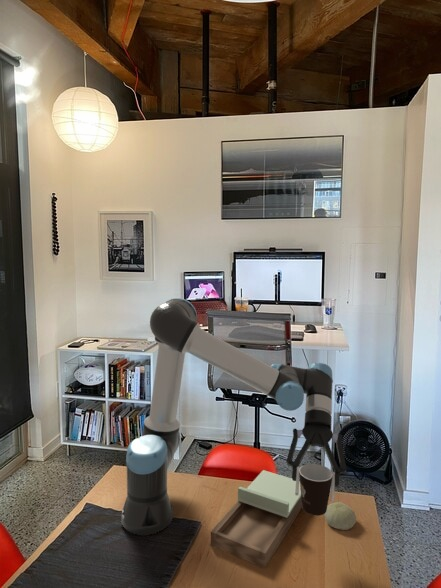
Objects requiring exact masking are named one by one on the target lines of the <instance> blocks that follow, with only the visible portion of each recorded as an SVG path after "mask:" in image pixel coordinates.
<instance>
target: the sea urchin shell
mask: <svg viewBox="0 0 441 588" xmlns="http://www.w3.org/2000/svg"><path fill="white" fill-rule="evenodd" d="M323 515H324V519H325V521H326V522H327V525H329V526H330V527H331V528H335V529H338V530H343V531H346V530H350V529H352V528H353V527H354V526H355V524H356V521H357V516H356V513H355V511H354V510H353V509H352V508H351V507H350V506H348V505H347V504H346V503H343V502H341V501H335V502H331V503H328V506H327V511H326V513H325V514H323Z"/></svg>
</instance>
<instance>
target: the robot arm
mask: <svg viewBox="0 0 441 588" xmlns="http://www.w3.org/2000/svg"><path fill="white" fill-rule="evenodd" d="M197 320H198V315H197V310H196V307H195V306H194V305H193V304H192V303H191V302H190V301H189V300H187V299H185V298H170V299H168V300H167V301H165V302H164V303H162V304H159V305H158V306H157V307H156V308H155V309H154V310H153V312H151V314H150V318H149V327H150V330H151V333H152V334H153V336H154V341H155V342H156V343H157V345H158V350H157V357H156V364H155V371H154V372H155V373H154V380H153V388H152V393H151V395H152V396H151V404H150V409H149V415H148V416H147V417H145V419H144V420H143V426H142V433H141V436H139V437H138V438H137V437H135V439H133V440H131V442H130V443H129V444H128V446H127V449H126V456H125V457H126V458H125V462H126V488H127V489H126V494H127V495H126V498H125V501H124V504H123V508H122V511H121V516H120V517H121V526H122V525H123V526H122V528H123V527H124V528H125V529H126V530H128V531H129V532H130V534H132V533H133V535H135V534H137V535H136V536H150V534H152V535H155V534H157V533H156V532H158V533H160V532H159V531H161V530H162V529H164V528H166V527H167V526H168V525H169V524H170V523H172V522H173V520H172V519H174V508H173V505H172V503H171V501H170V497H169V493H168V469H169V467H170V464H171V462H172V460H173V458H174V456H175V453H176V452H177V450H178V448H179V445H180V442H181V441H180V440H181V438H180V437H181V435H180V434H181V433H180V425H181V423H180V421H179V420H178V418H177V414H178V406H179V400H180V393H181V384H182V379H183V370H184V362H185V357H186V353H188V354H190V355H192V356H193V357H196V358H198V359H200V360H202V361H203V362H205V363H207V364H209V365H211V366H213V367H215V368H216V369H218V370H220V371H222V372H223V373H225V374H228V375H229V376H231V377H233V378H235V379H236V380H239V381H241V382H242V383H244V384H246V385H248V386H249V387H250V388H254V390H257V391H259V392H260V393H262V394H264V395H266V396H267V397H270V398H272V399H274V401H276V404H278V406H279V407H280V408H281V409H282V410H284V411H287V412H289V411H296V410H298V409H299V408H300V407H301V406H302V405H303V403H304V400H305V409H304V411H305V413H304V425H303V428H302V429H297V428H293V429H292V434H293V435H292V436H293V437H292V441H291V444H290V447H289V451H288V454H287V457H286V465H287V466H288V467H291V468H292V472H291V478H292V480H293V481H296V489H295V495H297V496H298V493H299V481H300V476H299V469H300V467H301V466H300V464H301V462H302V461H303V459H304V457H305V455H306V453H307V452H308V451H309V448H310V447H317V448H323V450H324V452H325V454H326V456H327V459H328V461H329V462H328V463H329V465H330V467H331V468H332V473H333V477H332V483H331V488H330V502H334V501H335V488H339V486H340V475H341V474H346V472H347V464H346V458H345V455H344V454H345V453H344V449H343V443H342V442H343V438H344V437H343V434H342V433H338V434H336V433H334V432H333V430H332V409H333V397H332V396H333V382H334V380H333V370H332V368H331V366H329V365H328V364H326V363H323V362H313V363H311V364H309V366H308V367H307V368H303V367H297V366H292V365H287V364H284V363H272V364H271V365H269V364H267V363H265V362H264V361H261V360H260V359H257V358H256V357H255V356H253V355H250V354H249V353H246V352H245V351H243V350H241V349H239V348H237V347H236V346H234V345H232V344H230V343H229V342H226V341H225V340H223V339H221V338H219V337H217V336H215V335H213V334H211V333H210V332H208V331H206V330H204V329H202V328H201V326H200V323H199V322H198V321H197ZM305 395H306V397H305ZM304 398H305V399H304ZM301 436H303V437H304V439H305V441H304V442H303V445H302V447H301V449H300V450H299V452H298V453H297V455H296V458H295V459H294V456H295V451H296V448H297V444H298V440H299V439H300V438H301ZM332 439H333V441H334V443H335V444H336V450H337V457H338V461H339V466H340V467H339V466H338V463H337V461H336V459H335V456H334V454H333V451H332V449H331V447H330V443H329V442H330V441H331V440H332ZM293 459H294V460H293ZM299 466H300V467H299ZM171 521H172V522H171ZM170 525H171V524H170ZM170 525H169V526H170ZM169 526H168V527H169ZM168 527H167V528H168ZM124 528H123V529H124ZM167 528H166V529H167ZM125 529H124V530H125ZM126 530H125V531H126ZM164 530H165V529H164ZM128 531H127V532H128ZM129 532H128V533H129ZM161 532H162V531H161ZM154 533H155V534H154Z"/></svg>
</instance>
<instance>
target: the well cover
mask: <svg viewBox="0 0 441 588" xmlns="http://www.w3.org/2000/svg"><path fill="white" fill-rule="evenodd" d="M295 489H296V481H293V480H292V477H288V476H285V475H281V474H278V473H274V472H271V471H267V470H265V469H263V470H262V471H260V473H259V474H258V475H257V476H256V477H255V478H254V479H253V481H252V482H251V483H250V484H249V485H248V486H247V487H243V486H239V487H238V488H237V502H238V501H240V502H243V503H246V504H249V505H252V506H255V507H257V508H260V509H263V510H266V511H269V512H272V513H275V514H278V515H280V516H283V517H286V518H287V517H288V516H289V514H290V513H291V511H292V510H293V508H294V507H295V505H296V503H297V502H298V500H299V499H300V497H301V489H300V480H299V493H298V496H297V495H295Z"/></svg>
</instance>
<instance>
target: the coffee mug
mask: <svg viewBox="0 0 441 588" xmlns="http://www.w3.org/2000/svg"><path fill="white" fill-rule="evenodd" d="M332 472H333V470H331V469H330V468H328V467H327V466H325V465H322V464H318V463H307V464H306V463H303V464H301V466H300V469H299V476H300V478H299V481H300V489H301V501H302V510H303V511H304V512H305V513H307V514H309V515H311V516H317V517H318V516H319V517H320V516H323V515H324V514H325V513H326V511H327V506H328V505H329V499H330V495H331V483H332V477H333V473H332Z"/></svg>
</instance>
